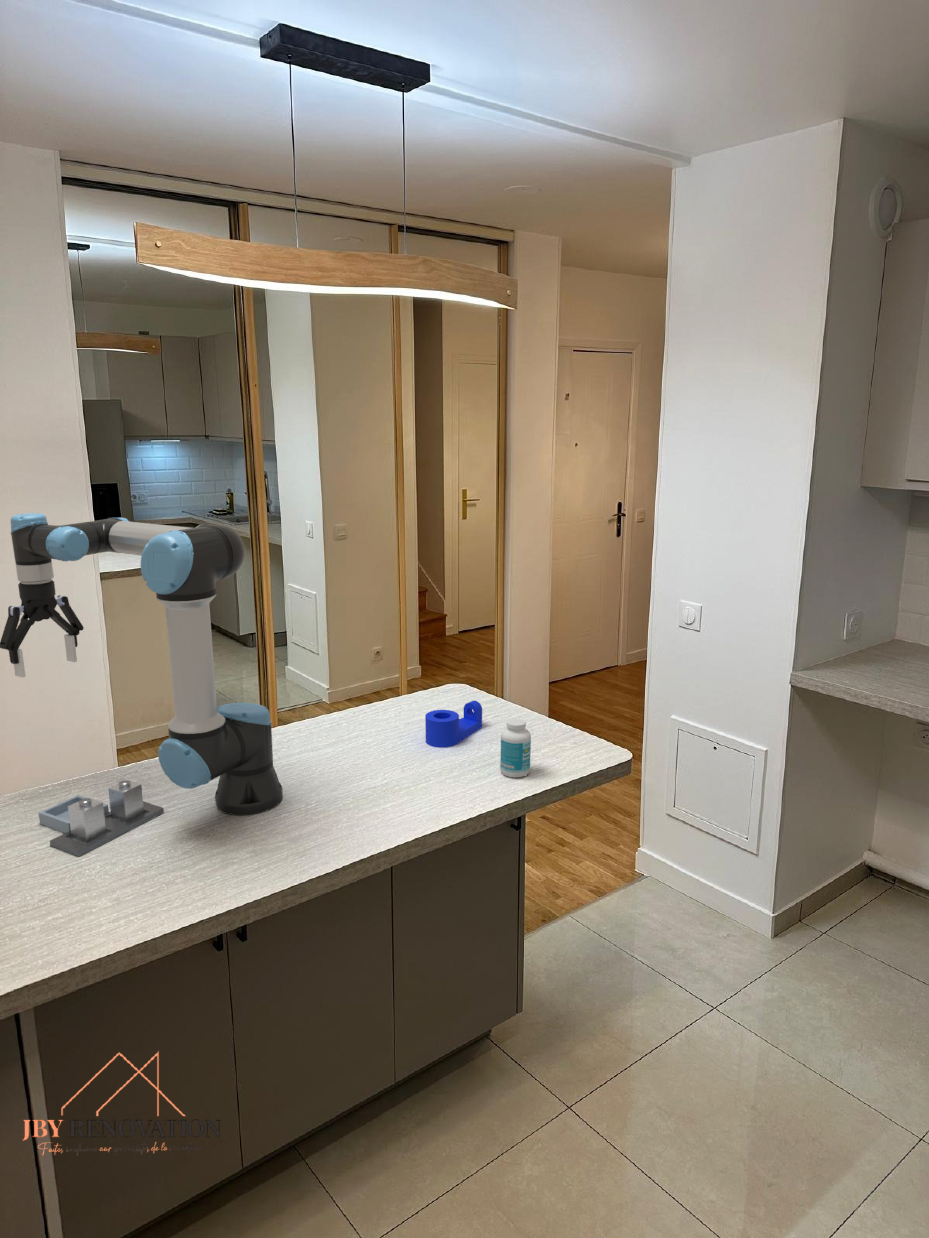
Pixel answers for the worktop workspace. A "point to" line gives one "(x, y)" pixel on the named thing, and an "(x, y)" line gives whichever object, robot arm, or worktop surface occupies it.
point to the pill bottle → (515, 749)
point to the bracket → (452, 725)
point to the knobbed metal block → (87, 820)
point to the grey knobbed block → (126, 801)
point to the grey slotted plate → (112, 831)
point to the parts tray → (61, 814)
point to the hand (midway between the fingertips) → (47, 668)
